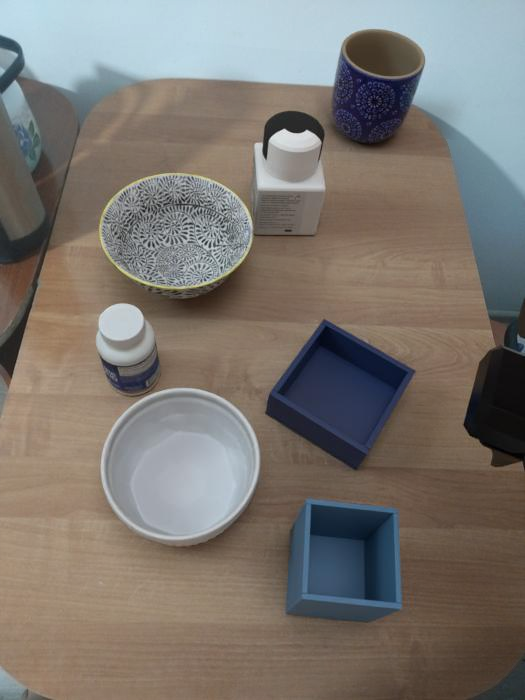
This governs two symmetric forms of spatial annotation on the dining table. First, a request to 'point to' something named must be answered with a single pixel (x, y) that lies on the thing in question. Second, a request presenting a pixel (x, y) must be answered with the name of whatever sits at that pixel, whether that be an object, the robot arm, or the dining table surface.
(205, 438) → the ramekin
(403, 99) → the planter
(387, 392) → the navy bin
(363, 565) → the blue bin
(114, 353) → the pill bottle
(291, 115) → the container
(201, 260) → the bowl
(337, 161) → the dining table surface
